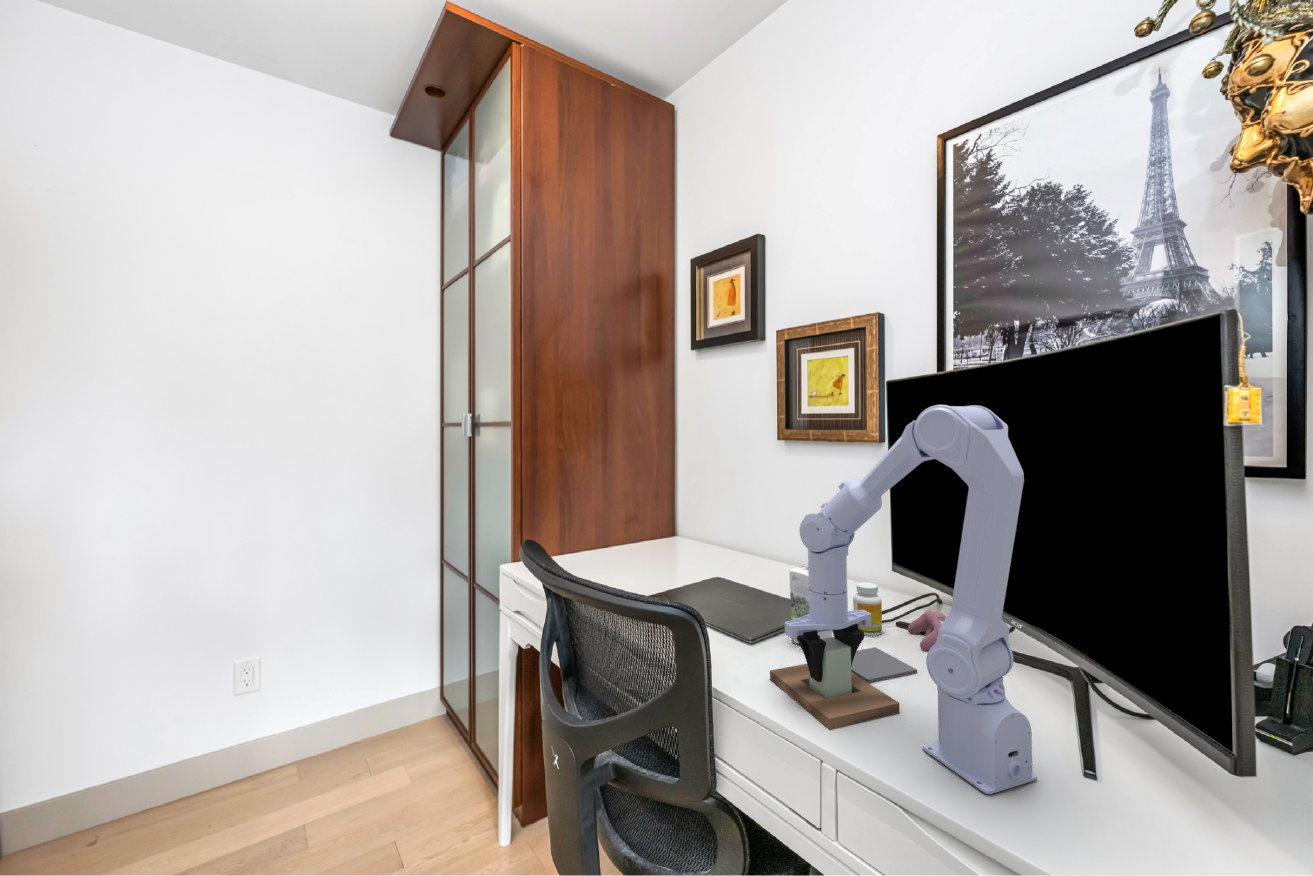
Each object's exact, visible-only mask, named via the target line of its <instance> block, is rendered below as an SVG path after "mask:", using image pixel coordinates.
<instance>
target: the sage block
mask: <svg viewBox="0 0 1313 876" xmlns="http://www.w3.org/2000/svg"><path fill="white" fill-rule="evenodd" d="M822 640H824V641H825V642H826V646H825V650H824V654H823V675H822V681H821V682H817V681H815V680H814V679H813V678H811V677H810V672H809V687H810V688H811V689H813V690H814V691H815V692H817V693H818V694H819V695H820V696H822V697H823V698H824V699H828V698H833V697H837V696H842V695H847V694H851V693H852V680H851V647H849V646H848V645H846V644H844V643H842V642H841V641H839V640H837V639H835V638H834V636H832V637H828V638H822Z"/></svg>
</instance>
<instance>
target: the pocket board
mask: <svg viewBox="0 0 1313 876" xmlns="http://www.w3.org/2000/svg"><path fill="white" fill-rule="evenodd" d="M769 680H770V681H771V682H772V683H774V684H775V685H776V686H777V687H779V689H780V690H781V691H783V692H784V693H786V694H787V695H788V697H790V698H791V699H792V700H794V701H795V702H796V703H797V704H799V705H800V707H802V708H803V709H805V710H806V712H808V713H809V714H811V716H813V718H815V719H816V720H818V721H819V722H820V724H822V725H823V726H825V727H826V728H827V729H828V730H830V731H831V730H834V729H838V728H842V727H846V726H850V725H854V724H859V723H863V722H869V721H872V720H876V719H880V718H885V717H889V716H893V715H897V714H900V713H901V712H900V710H901V709H900V702H899V701H897V700H896V699H894V698H893V697H891V696H890V695H888V694H886V693H885V692H884V691H882V690H880V689H879V688H877V687H875V686H874V685H872V683H867V682H866V681H864V680H863V679H861V678H860V677H858V676H857V675H855V674H853V673H852V672H851V680H852V693H851V694H847V695H842V696H837V697H833V698H828V699H824V698H823V697H822V696H820V695H819V694H818V693H817V692H815V691H814V690H813V689H811V688H810V687H809V668H808V665H807V663H803V664H798V665H793V666H787V667H781V668H776V669H771V670H769Z"/></svg>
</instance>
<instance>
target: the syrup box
mask: <svg viewBox="0 0 1313 876" xmlns="http://www.w3.org/2000/svg"><path fill="white" fill-rule="evenodd" d="M789 593H790V594H789V595H790V596H789V597H790V599H789V600H790V621H792V620H795V619H797V618H800V617H803V616H805V615H808V614H809V573H808V564H807V565H800V566H797V567H795V568H791V569H789ZM818 635H820V639H822V638H828V637H833V631H832V630H829V631H823V632H818ZM791 642H792V643H793V644H795V645H798V646H800V644H799V642H798V641H797V639H796V638H793V639H792V638H791Z"/></svg>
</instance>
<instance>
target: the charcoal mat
mask: <svg viewBox="0 0 1313 876" xmlns="http://www.w3.org/2000/svg"><path fill="white" fill-rule="evenodd" d="M851 672H852V673H853V674H855V675H857V676H858V677H860V678H861V679H863V680H864V681H866V682H867V683H869V684H873V683H877V682H881V681H886V680H891V679H895V678H901V677H905V676H909V675H915V674H918V669H917V668H915V667H913V666H911V665H910V664H908V663H906V662H903V661H902V660H900V659H899V658H896V657H894V656H893V655H891V654H889V653H887V652H885V651H883V650H882V649H879V648H877V646H876V647H869V648H865V649H859V650H858V649H857V651H856V653H855V656H854V659H853V663H852V667H851Z"/></svg>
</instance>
